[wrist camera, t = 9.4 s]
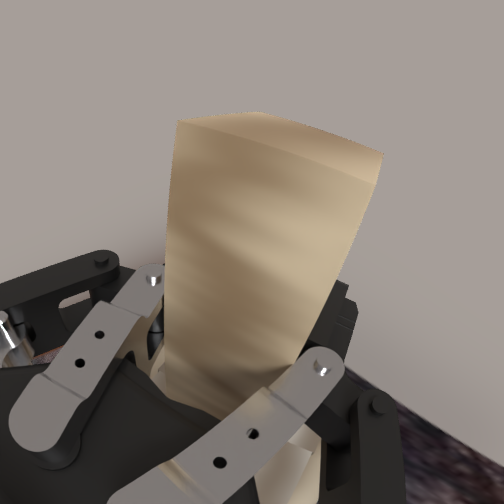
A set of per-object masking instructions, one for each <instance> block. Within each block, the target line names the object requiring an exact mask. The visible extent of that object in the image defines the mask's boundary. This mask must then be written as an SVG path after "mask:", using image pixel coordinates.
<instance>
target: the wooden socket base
mask: <svg viewBox="0 0 504 504" xmlns="http://www.w3.org/2000/svg"><path fill="white" fill-rule="evenodd" d="M150 379H151V380H152V381H153V382H154V383H155V384H156V385H157V387H158V388H159V389H160V390H161V391H162V392H163V393H164V394H165V395H166V380H165V352H164V345H163V347H162V349H161V351H160V353H159V355H158V357H157V359H156V361H155V363H154V364H153V367H152V369H151V373H150ZM320 458H321V437H319V436H318V435H317V434H316V433H315V432H314V431H312V430H311V429H310V428H309V427H308V426H307V425H305V424H303V425H302V426H301V427H300V428H299V430H298V431H297V432H296V433H295V434H294V435H293V436H292V437H291V438H290V439H289V440H288V441H287V443H286V444H285V445H284V446H283V447H282V448H281V449H280V450H279V451H278V452H277V453H276V454H275V455H274V456H273V457H272V458H271V459H270V460H269V461H268V462H267V463H266V464H265V465H264V466H263V467H262V468H261V469H260V470H259V471H258V472H257V473H256V474H255V475H254V477H255V482H256V487H257V492H258V497H259V502H260V504H316V503H317V500H318V498H319V482H320Z"/></svg>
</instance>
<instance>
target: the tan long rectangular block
mask: <svg viewBox="0 0 504 504" xmlns="http://www.w3.org/2000/svg"><path fill="white" fill-rule="evenodd" d="M383 155H384V154H383V153H381V152H379V151H376V150H374V149H371V148H369V147H366V146H364V145H361V144H359V143H356V142H353V141H351V140H348V139H345V138H342V137H340V136H337V135H334V134H331V133H328V132H325V131H323V130H319V129H316V128H313V127H310V126H307V125H304V124H301V123H298V122H294V121H291V120H288V119H284V118H281V117H277V116H274V115H270V114H266V113H263V112H247V113H236V114H225V115H215V116H207V117H199V118H191V119H185V120H178V122H177V128H176V136H175V144H174V152H173V161H172V171H171V181H170V193H169V204H168V218H167V234H166V254H165V282H164V352H165V380H166V396H167V397H168V398H169V399H171V400H174V401H177V402H180V403H183V404H185V405H188V406H191V407H194V408H197V409H200V410H203V411H205V412H207V413H209V414H210V415H212V416H214V417H216V418H217V419H219V420H221V421H223V420H224V419H225V418H226V417H227V416H229V415H230V414H231V413H232V412H234V411H235V410H236V409H237V408H238V407H239V406H241V405H242V404H243V403H244V402H245V401H247V400H248V399H249V398H250V397H251V396H252V395H253V394H255V393H256V392H257V391H258V390H259V389H261V388H262V387H269V386H270V385H271V384H272V383H274V382H275V381H276V380H277V379H278V378H279V377H280V376H281V375H282V374H283V373H284V372H285V371H286V370H287V369H288V368H289V367H291V366H292V365H293V364H294V363H295V361H296V359H297V357H298V356H299V354H300V352H301V350H302V348H303V346H304V344H305V342H306V340H307V338H308V336H309V335H310V333H311V331H312V329H313V327H314V325H315V323H316V321H317V319H318V317H319V315H320V313H321V311H322V309H323V307H324V304H325V302H326V300H327V298H328V296H329V294H330V292H331V290H332V288H333V286H334V283H335V281H336V279H337V277H338V275H339V272H340V270H341V268H342V266H343V264H344V261H345V259H346V257H347V255H348V252H349V250H350V248H351V245H352V243H353V241H354V238H355V236H356V233H357V231H358V229H359V226H360V224H361V221H362V219H363V216H364V214H365V211H366V209H367V206H368V204H369V201H370V199H371V196H372V194H373V191H374V188H375V186H376V182H377V178H378V174H379V171H380V166H381V163H382V159H383Z"/></svg>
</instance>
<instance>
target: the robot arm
mask: <svg viewBox="0 0 504 504" xmlns="http://www.w3.org/2000/svg"><path fill="white" fill-rule="evenodd" d="M164 282H165V264H163V265H160V264H146V265H144V266H141V267H140V268H138V269H137V270H133V269H130V268H126V267H123V266H120V265H119V257H118V255H117V254H116V253H114V252H112V251H109V250H97V251H94V252H91V253H88V254H85V255H81V256H78V257H75V258H72V259H69V260H66V261H63V262H60V263H57V264H55V265H51V266H48V267H46V268H43V269H40V270H37V271H34V272H31V273H29V274H26V275H23V276H20V277H17V278H15V279H12V280H9V281H6V282H4V283H1V284H0V504H260V502H259V497H258V492H257V487H256V482H255V477H254V475H255V474H256V473H257V472H258V471H259V470H260V469H261V468H262V467H263V466H264V465H265V464H266V463H267V462H268V461H269V460H270V459H271V458H272V457H273V456H274V455H275V454H276V453H277V452H278V451H279V450H280V449H281V448H282V447H283V446H284V445H285V444H286V443H287V441H288V440H289V439H290V438H291V437H292V436H293V435H294V434H295V433H296V432H297V431H298V430H299V428H300V427H301V426H302V425H303V424H305V425H307V426H308V427H309V428H310V429H311V430H312V431H314V432H315V433H316V434H317V435H318V436H319V437H321V458H320V482H319V499H318V504H406V488H405V474H404V463H403V452H402V443H401V435H400V427H399V420H398V413H397V407H396V404H395V402H394V400H393V399H392V398H391V396H389V395H388V394H387V393H386V392H384V391H382V390H379V389H369V390H366V391H363V390H362V389H360V388H359V387H358V386H357V385H355V384H354V383H353V382H352V381H351V380H350V379H349V377H348V376H347V374H346V372H345V367H344V359H345V356H346V353H347V350H348V346H349V343H350V340H351V337H352V333H353V330H354V326H355V323H356V319H357V316H358V309H357V305H356V303H355V302H354V301H351V300H349V299H347V298H345V296H346V292H347V290H348V287H349V285H347V284H345V283H343V282H340V281H338V280H336V281H335V283H334V286H333V288H332V290H331V292H330V294H329V296H328V298H327V300H326V302H325V304H324V307H323V309H322V311H321V313H320V315H319V317H318V319H317V321H316V323H315V325H314V327H313V329H312V331H311V333H310V335H309V336H308V338H307V340H306V342H305V344H304V346H303V348H302V350H301V352H300V354H299V356H298V357H297V359H296V361H295V363H294V364H293V365H292V366H291V367H289V368H288V369H287V370H286V371H285V372H284V373H283V374H282V375H281V376H280V377H279V378H278V379H277V380H276V381H275V382H274V383H272V384H271V385H270V386H269V387H262V388H261V389H259V390H258V391H257V392H256V393H255V394H253V395H252V396H251V397H250V398H249V399H248V400H247V401H245V402H244V403H243V404H242V405H241V406H239V407H238V408H237V409H236V410H235V411H234V412H232V413H231V414H230V415H229V416H227V417H226V418H225V419H224V420H223V421H221V420H219V419H217V418H216V417H214V416H212V415H210V414H209V413H207V412H205V411H203V410H200V409H197V408H194V407H191V406H188V405H185V404H183V403H180V402H177V401H174V400H171V399H169V398H168V397H167V396H166V395H165V394H164V393H163V392H162V391H161V390H160V389H159V388H158V387H157V385H156V384H155V383H154V382H153V381H152V380H151V379H150V373H151V369H152V367H153V364H154V363H155V361H156V359H157V357H158V355H159V353H160V351H161V349H162V347H163V345H164ZM87 290H89V293H90V298H89V299H86V300H83V301H81V302H78V303H76V304H73V305H70V306H68V307H65V308H58V307H59V304H60V302H61V301H62V300H64V299H66V298H68V297H71V296H74V295H77V294H79V293H82V292H85V291H87ZM62 345H64V346H63V348H62V349H61V350H60V352H59V353H58V354H57V356H56V357H55V358H54V360H53V361H52V363H44V364H36V365H32V361H31V360H32V358H33V357H35V356H38V355H40V354H43V353H45V352H48V351H50V350H52V349H55V348H57V347H60V346H62Z"/></svg>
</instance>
